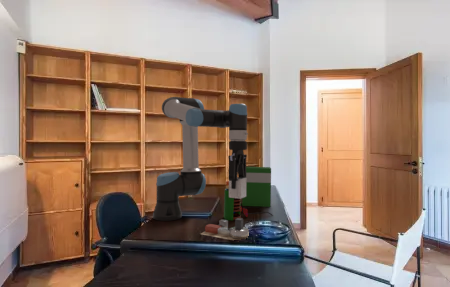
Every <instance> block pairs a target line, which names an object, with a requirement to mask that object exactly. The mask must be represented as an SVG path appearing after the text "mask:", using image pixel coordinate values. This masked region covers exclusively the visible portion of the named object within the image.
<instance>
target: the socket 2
mask: <svg viewBox="0 0 450 287" xmlns="http://www.w3.org/2000/svg"><path fill="white" fill-rule="evenodd" d="M228 181H229V180H228ZM237 181H238V197H233V196H231V181H229V185H228V188H229V198H239V199H241V200H242V198H244V197H246V178H242V177H238V176H237Z"/></svg>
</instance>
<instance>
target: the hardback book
mask: <svg viewBox="0 0 450 287" xmlns="http://www.w3.org/2000/svg"><path fill="white" fill-rule="evenodd" d="M271 188H272V168H271V167H270V166H267V167H266V166H246V197H244V198H241V207H268V208H271V204H272V203H271V202H272V201H271V200H272V199H271V196H272V189H271Z"/></svg>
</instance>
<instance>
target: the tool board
mask: <svg viewBox="0 0 450 287" xmlns="http://www.w3.org/2000/svg"><path fill="white" fill-rule="evenodd" d="M200 235H202V236H203V235H204V236H207V237H213V238H219V239H223V240H228V241H229V240H230V241H234V240H238V239H233V238H231V237H230V236H227V235H221V234H214V233H209V232H205V231H203V232H201V233H200Z"/></svg>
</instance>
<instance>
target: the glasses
mask: <svg viewBox="0 0 450 287" xmlns="http://www.w3.org/2000/svg"><path fill="white" fill-rule="evenodd" d="M250 208H253V206H241V210H240V214H241V213H243V215H244V216H245V217H246V218H248V216H249V215H253V214H255V215H257V214H258V212H251V213H249V210H248V209H250ZM256 208H257V209H259V210H260V211H261V212H259V214H269V215H271V216H274V215H273V214H272V213H271V212H268V211H262V209H261V208H260V207H259V206H256Z"/></svg>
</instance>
